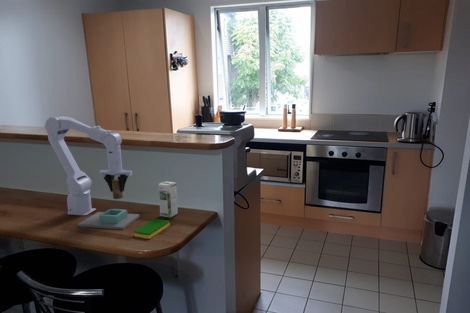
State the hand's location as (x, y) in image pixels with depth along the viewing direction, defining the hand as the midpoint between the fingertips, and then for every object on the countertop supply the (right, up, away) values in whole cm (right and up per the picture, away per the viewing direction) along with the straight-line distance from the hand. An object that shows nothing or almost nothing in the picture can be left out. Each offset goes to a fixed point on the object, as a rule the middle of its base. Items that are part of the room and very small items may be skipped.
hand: (117, 191), depth 151 cm
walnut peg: (0, -3, +1) cm, 3 cm away
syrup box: (+23, -11, 0) cm, 25 cm away
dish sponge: (+19, -14, -17) cm, 29 cm away
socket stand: (-1, -12, -7) cm, 14 cm away
